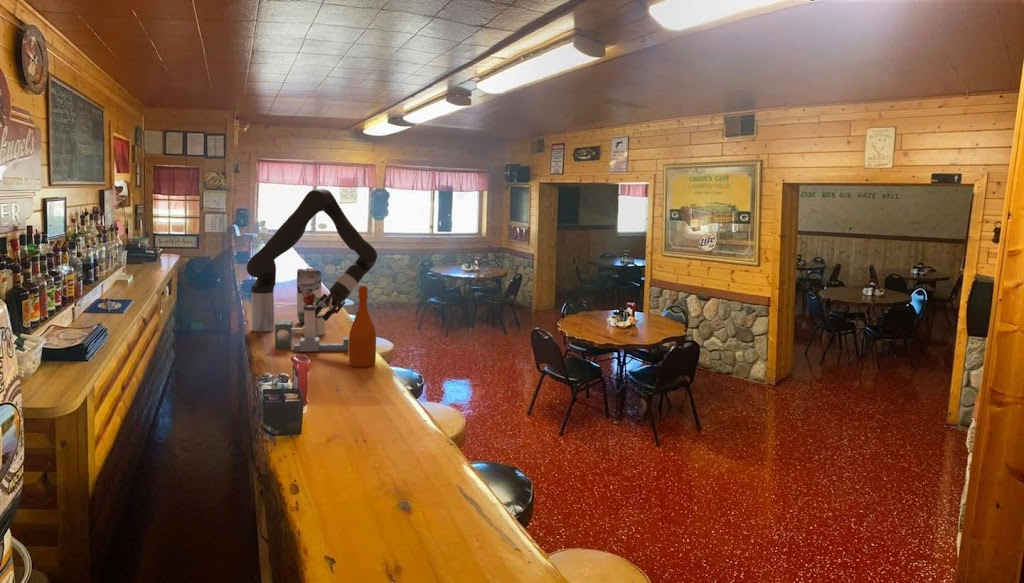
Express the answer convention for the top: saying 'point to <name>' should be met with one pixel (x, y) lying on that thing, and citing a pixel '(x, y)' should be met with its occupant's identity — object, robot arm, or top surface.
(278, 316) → the top surface
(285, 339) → the gauge cabinet
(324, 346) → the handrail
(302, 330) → the plunger
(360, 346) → the wine bottle
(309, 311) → the post
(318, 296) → the juice carton
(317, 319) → the teacup with lid
